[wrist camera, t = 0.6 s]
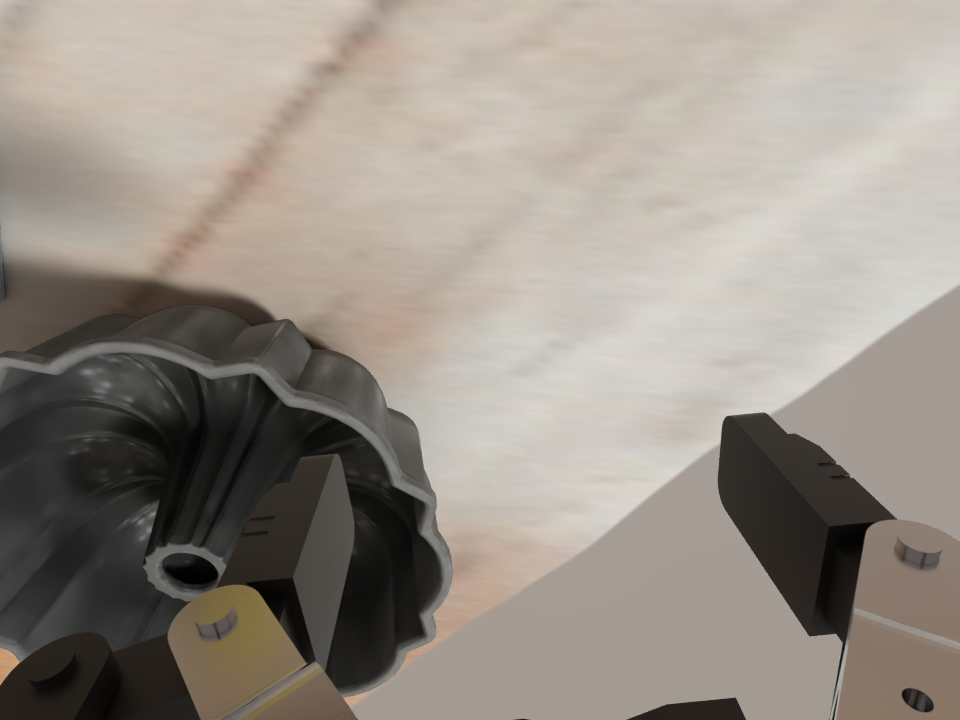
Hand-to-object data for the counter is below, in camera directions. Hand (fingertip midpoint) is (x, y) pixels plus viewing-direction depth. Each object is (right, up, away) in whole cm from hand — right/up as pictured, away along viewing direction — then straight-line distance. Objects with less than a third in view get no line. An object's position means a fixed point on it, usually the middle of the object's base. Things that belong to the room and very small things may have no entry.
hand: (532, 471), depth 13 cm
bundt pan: (-16, -4, +26) cm, 31 cm away
